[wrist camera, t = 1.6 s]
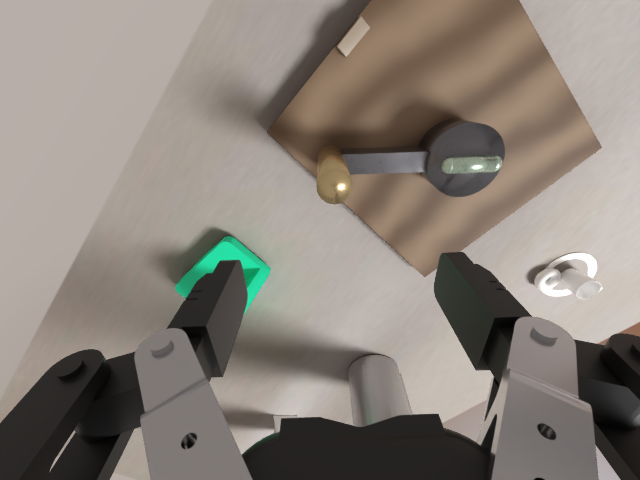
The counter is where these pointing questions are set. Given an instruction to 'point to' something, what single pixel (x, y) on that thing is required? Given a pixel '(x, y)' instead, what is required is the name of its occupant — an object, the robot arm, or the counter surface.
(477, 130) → the crank handle
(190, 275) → the camera mount
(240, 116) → the counter surface
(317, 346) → the counter surface
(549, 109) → the walnut base
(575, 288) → the teacup and saucer
